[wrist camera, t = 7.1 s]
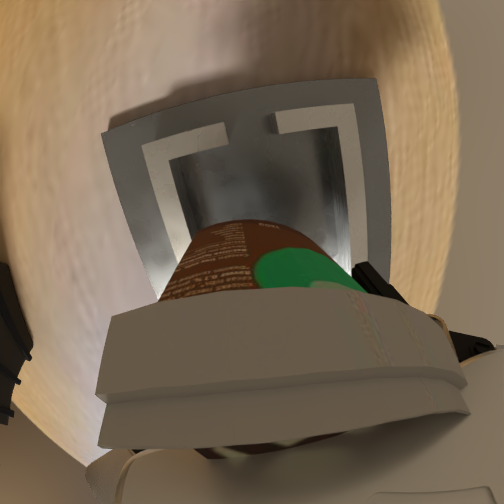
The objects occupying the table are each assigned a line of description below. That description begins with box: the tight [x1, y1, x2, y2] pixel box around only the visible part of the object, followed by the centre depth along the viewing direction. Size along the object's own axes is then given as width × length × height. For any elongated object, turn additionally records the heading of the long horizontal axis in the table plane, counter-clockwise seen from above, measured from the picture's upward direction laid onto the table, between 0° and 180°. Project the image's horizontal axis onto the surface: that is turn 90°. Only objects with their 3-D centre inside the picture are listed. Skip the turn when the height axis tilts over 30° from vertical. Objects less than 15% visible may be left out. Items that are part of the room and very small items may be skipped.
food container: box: [95, 219, 471, 459], centre depth 9 cm, size 12×6×10 cm, turn 23°
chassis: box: [101, 78, 391, 300], centre depth 18 cm, size 20×18×4 cm
